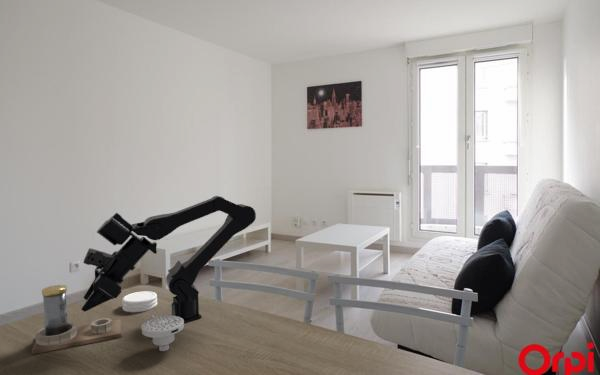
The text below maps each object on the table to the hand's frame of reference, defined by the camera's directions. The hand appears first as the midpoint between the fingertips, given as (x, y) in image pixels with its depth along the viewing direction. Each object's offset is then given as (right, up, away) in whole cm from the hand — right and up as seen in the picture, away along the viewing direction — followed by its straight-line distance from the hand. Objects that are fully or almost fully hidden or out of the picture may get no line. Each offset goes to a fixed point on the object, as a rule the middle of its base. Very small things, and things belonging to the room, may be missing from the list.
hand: (83, 304), depth 100 cm
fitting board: (-1, -8, 0) cm, 8 cm away
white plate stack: (+6, -7, +21) cm, 23 cm away
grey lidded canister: (-5, -8, -2) cm, 10 cm away
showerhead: (+23, -9, -7) cm, 25 cm away
